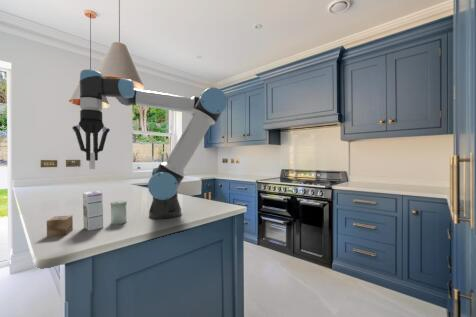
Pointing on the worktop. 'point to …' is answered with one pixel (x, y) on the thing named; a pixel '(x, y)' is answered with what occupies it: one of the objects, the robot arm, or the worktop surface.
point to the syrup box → (93, 210)
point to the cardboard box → (59, 226)
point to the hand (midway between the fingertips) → (92, 168)
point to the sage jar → (118, 212)
